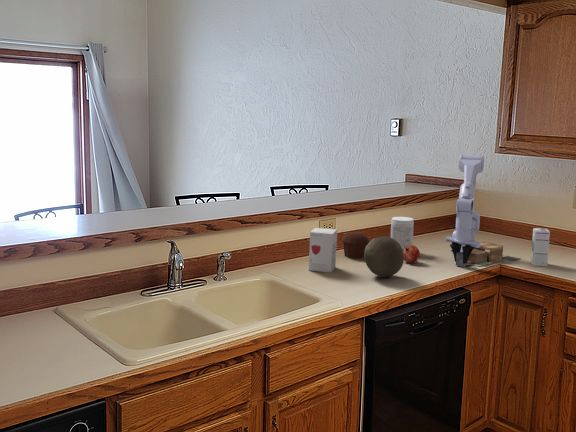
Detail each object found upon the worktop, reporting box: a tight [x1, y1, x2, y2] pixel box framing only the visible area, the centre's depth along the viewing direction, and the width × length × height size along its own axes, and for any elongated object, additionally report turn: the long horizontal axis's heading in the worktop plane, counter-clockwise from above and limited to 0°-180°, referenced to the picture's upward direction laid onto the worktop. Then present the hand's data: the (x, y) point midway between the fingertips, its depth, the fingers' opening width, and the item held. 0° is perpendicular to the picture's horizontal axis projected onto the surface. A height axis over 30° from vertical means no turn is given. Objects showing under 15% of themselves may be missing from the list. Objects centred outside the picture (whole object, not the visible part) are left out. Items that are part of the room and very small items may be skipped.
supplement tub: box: [390, 216, 415, 250], centre depth 266 cm, size 10×10×15 cm
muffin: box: [341, 231, 371, 260], centre depth 257 cm, size 12×11×10 cm
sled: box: [455, 249, 488, 267], centre depth 250 cm, size 5×16×5 cm, turn 133°
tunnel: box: [473, 241, 504, 264], centre depth 258 cm, size 9×9×6 cm
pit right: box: [502, 255, 522, 262], centre depth 261 cm, size 6×6×1 cm
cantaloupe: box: [363, 236, 405, 278], centre depth 225 cm, size 14×14×15 cm
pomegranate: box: [403, 244, 421, 265], centre depth 249 cm, size 7×7×10 cm
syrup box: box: [529, 227, 551, 267], centre depth 251 cm, size 6×6×14 cm
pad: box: [470, 261, 491, 268], centre depth 252 cm, size 10×9×1 cm
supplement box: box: [308, 227, 338, 273], centre depth 234 cm, size 9×9×15 cm
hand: (460, 262), depth 245 cm, fingers closed on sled, 3 cm apart
